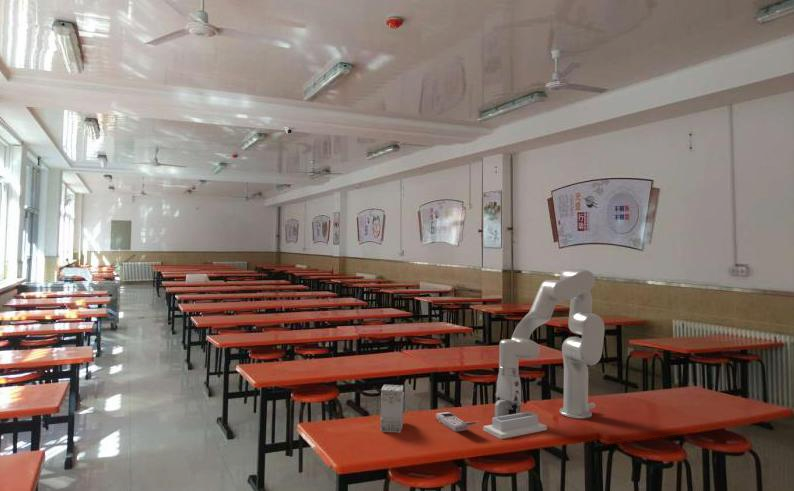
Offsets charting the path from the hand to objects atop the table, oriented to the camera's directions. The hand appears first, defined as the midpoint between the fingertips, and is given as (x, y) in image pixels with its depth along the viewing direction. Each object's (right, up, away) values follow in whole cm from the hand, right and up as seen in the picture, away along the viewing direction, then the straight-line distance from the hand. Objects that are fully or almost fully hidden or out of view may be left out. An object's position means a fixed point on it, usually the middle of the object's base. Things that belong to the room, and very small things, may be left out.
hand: (507, 416), depth 201 cm
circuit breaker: (-46, 0, -10) cm, 47 cm away
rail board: (0, -1, -13) cm, 13 cm away
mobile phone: (-22, -1, -10) cm, 25 cm away
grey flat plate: (0, -1, 0) cm, 1 cm away
